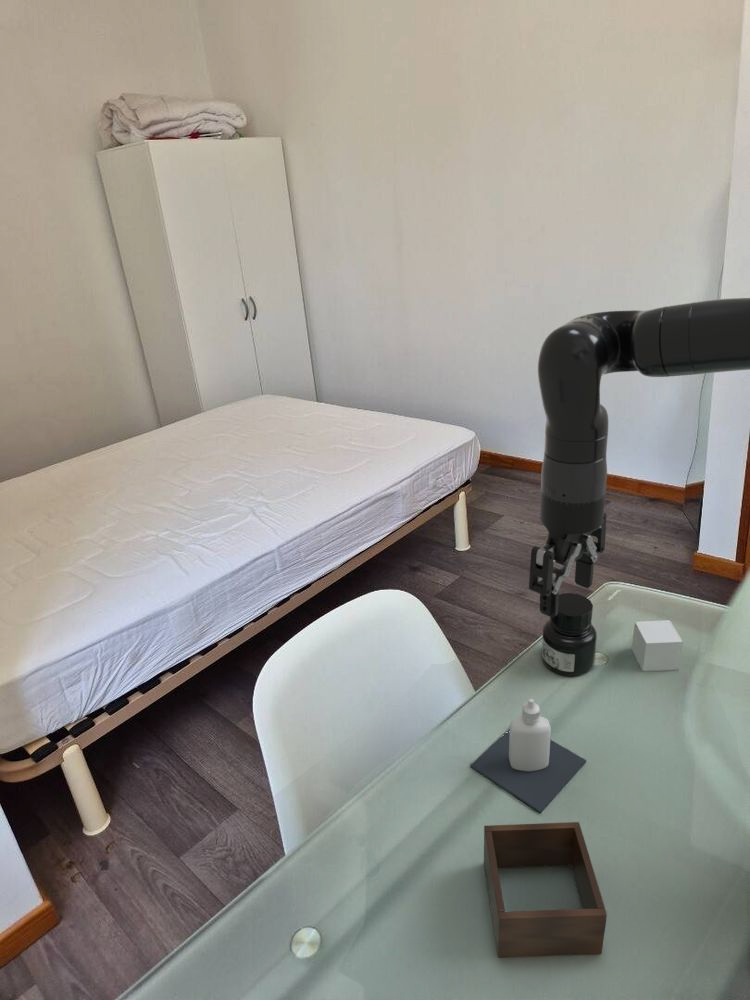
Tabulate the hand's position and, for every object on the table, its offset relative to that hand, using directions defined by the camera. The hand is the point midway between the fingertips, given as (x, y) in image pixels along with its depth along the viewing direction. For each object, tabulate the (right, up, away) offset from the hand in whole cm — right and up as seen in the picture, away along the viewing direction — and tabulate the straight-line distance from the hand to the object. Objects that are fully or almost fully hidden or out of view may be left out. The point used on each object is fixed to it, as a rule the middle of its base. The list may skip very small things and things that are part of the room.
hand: (566, 599), depth 90 cm
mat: (-2, -26, +11) cm, 28 cm away
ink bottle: (+9, -15, +31) cm, 36 cm away
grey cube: (+24, -15, +30) cm, 41 cm away
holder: (-5, -36, -8) cm, 37 cm away
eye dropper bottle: (-2, -26, +11) cm, 28 cm away
